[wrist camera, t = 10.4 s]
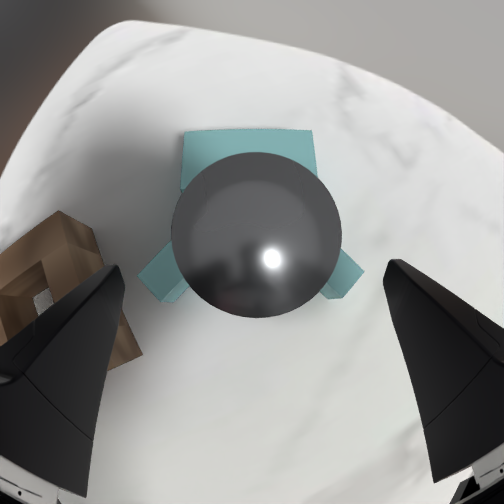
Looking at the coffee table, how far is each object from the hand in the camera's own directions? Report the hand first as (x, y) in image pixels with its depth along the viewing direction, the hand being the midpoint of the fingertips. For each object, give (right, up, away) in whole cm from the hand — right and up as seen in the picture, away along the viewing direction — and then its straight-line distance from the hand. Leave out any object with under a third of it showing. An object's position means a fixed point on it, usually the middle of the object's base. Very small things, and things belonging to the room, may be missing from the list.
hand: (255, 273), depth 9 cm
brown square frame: (-14, -4, +9) cm, 17 cm away
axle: (0, -1, +9) cm, 10 cm away
